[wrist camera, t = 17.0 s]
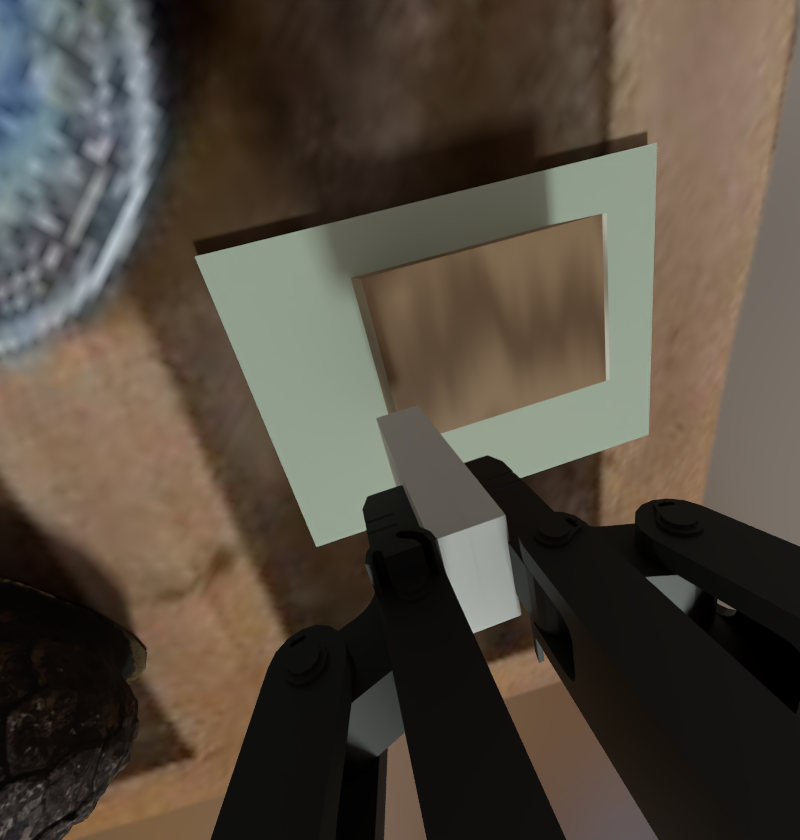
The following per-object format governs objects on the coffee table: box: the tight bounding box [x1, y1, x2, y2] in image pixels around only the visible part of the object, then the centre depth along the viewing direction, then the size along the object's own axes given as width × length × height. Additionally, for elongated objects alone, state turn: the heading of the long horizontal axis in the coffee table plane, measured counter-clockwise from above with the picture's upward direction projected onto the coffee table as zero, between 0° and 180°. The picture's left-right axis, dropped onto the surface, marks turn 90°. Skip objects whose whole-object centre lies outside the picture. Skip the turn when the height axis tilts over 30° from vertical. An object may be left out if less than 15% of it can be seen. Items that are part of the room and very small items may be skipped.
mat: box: [195, 143, 657, 547], centre depth 20 cm, size 16×22×1 cm
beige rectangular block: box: [351, 213, 610, 434], centre depth 18 cm, size 7×4×10 cm
